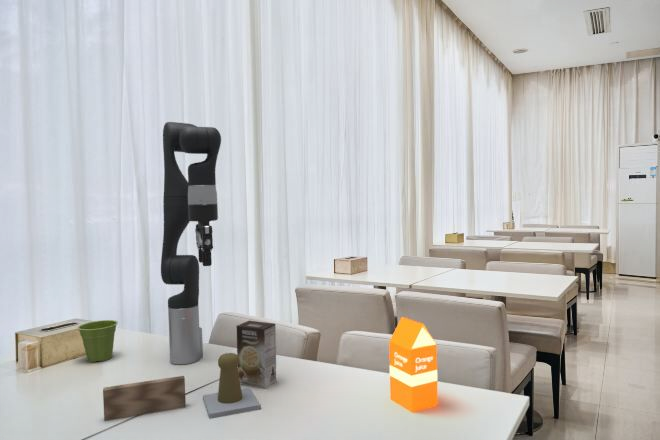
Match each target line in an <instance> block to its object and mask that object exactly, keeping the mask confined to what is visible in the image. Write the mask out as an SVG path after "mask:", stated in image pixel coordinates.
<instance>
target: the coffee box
mask: <svg viewBox="0 0 660 440" xmlns="http://www.w3.org/2000/svg"><path fill="white" fill-rule="evenodd" d="M276 332H277V331H276V323H273V322H272V323H271V322H265V321H264V322H263V321H256V320H247V321H245V322H243V323H240V324H238V325H236V349H237V350H236V352H237V353H236V354H237V355H238V356H239V360H240V362H239V365H238V367H237V368H238V374H239V380H240V385H244V386H250V387H254V388H261V389H266V388H268V387H269V386H271V385H272V384H274V383H276V382H277V344H276V343H277V341H276Z"/></svg>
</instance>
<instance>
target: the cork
mask: <svg viewBox="0 0 660 440" xmlns="http://www.w3.org/2000/svg"><path fill="white" fill-rule="evenodd" d="M239 362H240V360H239V356H238V355H237V353H235V352H233V353H232V352H228V353H227V352H226V353H223V354H221V355H220V356H219V357H218V359H217V365H218V367H219V371H220V372H219V382H218V392H217V393H218V402H220V403H224V404H229V403H235V402H238V401H240V400H241V399H242V398H243V397H242V391H241V389H242V386H241V385H242V384H240V380H239V374H238V365H239Z"/></svg>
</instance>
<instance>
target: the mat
mask: <svg viewBox="0 0 660 440" xmlns="http://www.w3.org/2000/svg"><path fill="white" fill-rule="evenodd" d="M241 391H242V397H243V398H242V399H241V400H240V401H238V402H235V403H229V404H224V403H220V402H218V392H213V393H208V394H202V400H203V403H204V408H205V409H206V412H207V416H208V419H214V418H218V417H224V416H230V415H236V414H240V413H246V412H251V410H252V411H257V409H258V410H261V409H262V406H261V405H262V404H261V403H260V401H259V400H258V398H257V396H256V395H255V393H254V391H253V390H252V388H251V386H250V387H244V388H241ZM235 413H236V414H235Z"/></svg>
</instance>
